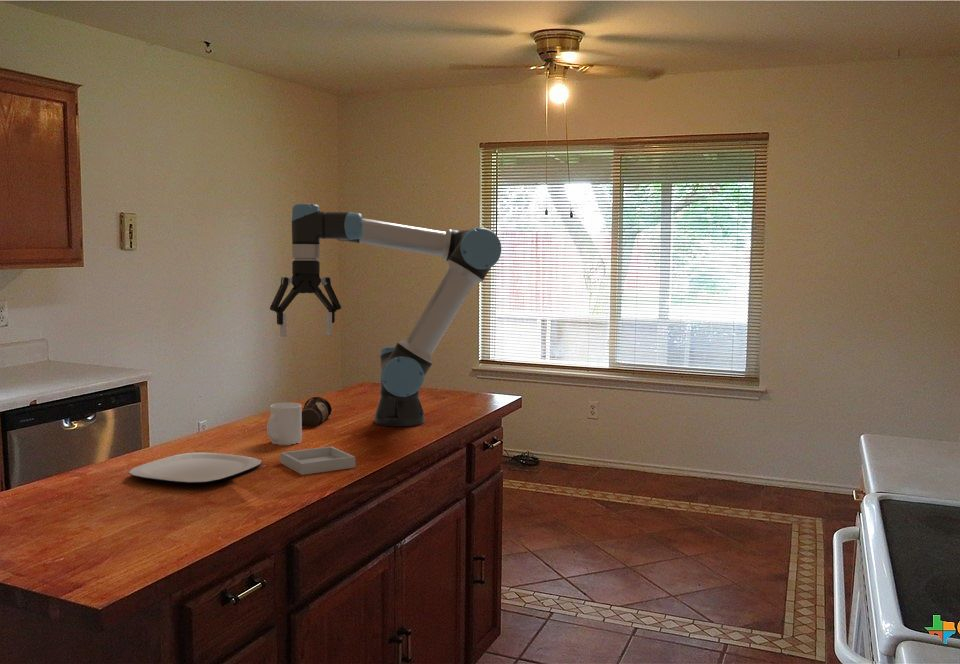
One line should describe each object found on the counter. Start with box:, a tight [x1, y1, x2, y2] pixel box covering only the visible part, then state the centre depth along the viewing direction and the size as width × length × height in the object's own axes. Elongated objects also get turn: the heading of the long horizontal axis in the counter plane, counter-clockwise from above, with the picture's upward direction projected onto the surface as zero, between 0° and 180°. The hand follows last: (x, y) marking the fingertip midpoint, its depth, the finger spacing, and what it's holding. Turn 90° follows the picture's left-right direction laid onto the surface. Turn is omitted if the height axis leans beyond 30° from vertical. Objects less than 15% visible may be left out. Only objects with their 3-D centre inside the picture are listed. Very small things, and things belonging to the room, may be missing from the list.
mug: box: [266, 402, 303, 446], centre depth 223 cm, size 12×8×10 cm
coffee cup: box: [301, 396, 333, 428], centre depth 248 cm, size 9×8×13 cm
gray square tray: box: [280, 445, 356, 476], centre depth 201 cm, size 14×14×3 cm
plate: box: [128, 451, 263, 484], centre depth 194 cm, size 25×25×2 cm
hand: (306, 335), depth 232 cm, fingers open, 13 cm apart
